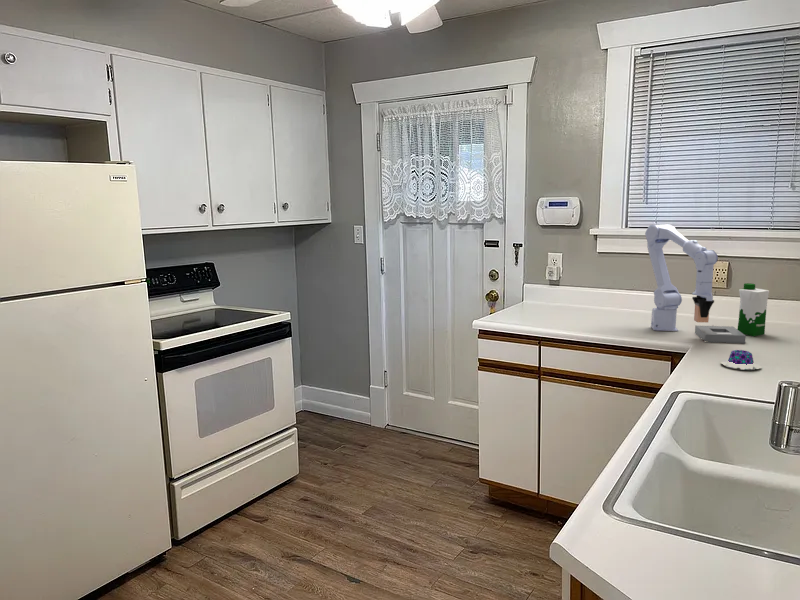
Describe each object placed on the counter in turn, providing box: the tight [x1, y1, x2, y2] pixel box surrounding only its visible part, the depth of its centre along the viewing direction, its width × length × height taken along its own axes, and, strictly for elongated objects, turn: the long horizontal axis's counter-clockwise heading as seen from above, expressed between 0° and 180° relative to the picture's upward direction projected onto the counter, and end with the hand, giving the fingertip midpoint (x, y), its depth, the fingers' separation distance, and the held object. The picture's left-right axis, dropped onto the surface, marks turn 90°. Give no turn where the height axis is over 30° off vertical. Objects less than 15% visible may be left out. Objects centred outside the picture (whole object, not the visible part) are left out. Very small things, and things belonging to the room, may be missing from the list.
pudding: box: [727, 349, 755, 365], centre depth 200 cm, size 12×12×5 cm
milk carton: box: [736, 282, 770, 337], centre depth 242 cm, size 9×9×20 cm
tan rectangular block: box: [693, 303, 710, 323], centre depth 237 cm, size 4×4×7 cm
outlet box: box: [694, 325, 747, 344], centre depth 238 cm, size 14×16×3 cm
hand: (701, 316), depth 237 cm, fingers closed on tan rectangular block, 4 cm apart
